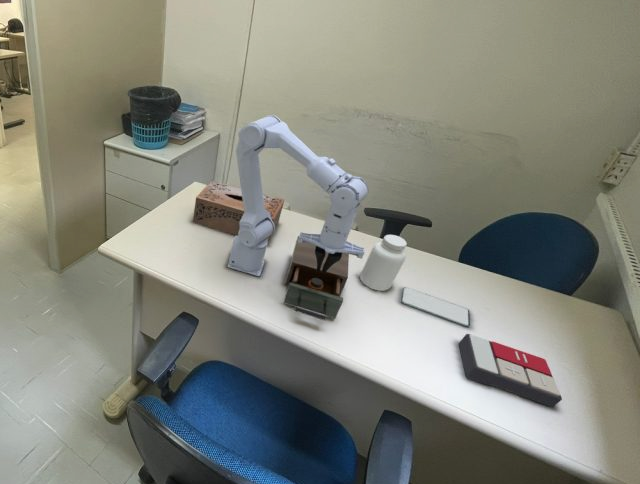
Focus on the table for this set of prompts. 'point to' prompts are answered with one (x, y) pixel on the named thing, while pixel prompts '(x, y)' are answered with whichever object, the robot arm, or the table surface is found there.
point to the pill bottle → (384, 263)
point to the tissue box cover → (228, 208)
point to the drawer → (314, 294)
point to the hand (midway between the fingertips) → (320, 270)
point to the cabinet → (307, 259)
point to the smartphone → (436, 306)
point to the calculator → (508, 369)
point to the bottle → (315, 284)
